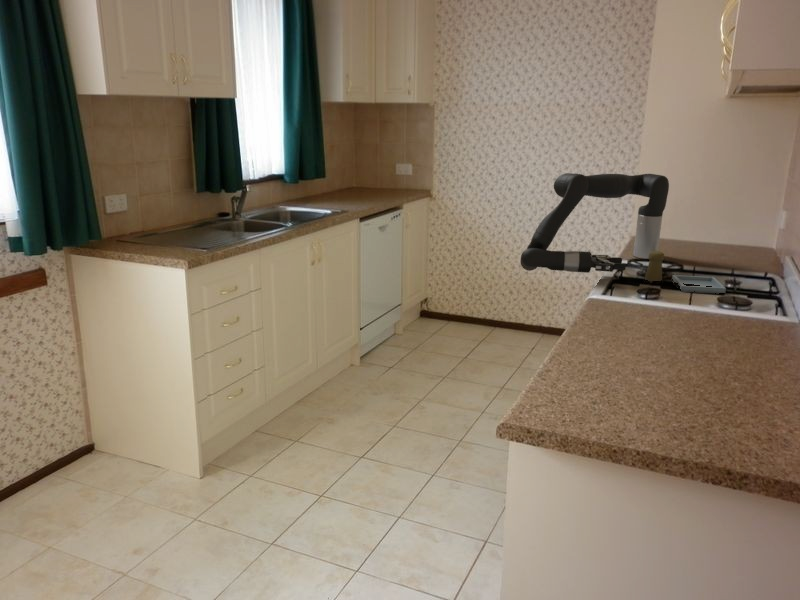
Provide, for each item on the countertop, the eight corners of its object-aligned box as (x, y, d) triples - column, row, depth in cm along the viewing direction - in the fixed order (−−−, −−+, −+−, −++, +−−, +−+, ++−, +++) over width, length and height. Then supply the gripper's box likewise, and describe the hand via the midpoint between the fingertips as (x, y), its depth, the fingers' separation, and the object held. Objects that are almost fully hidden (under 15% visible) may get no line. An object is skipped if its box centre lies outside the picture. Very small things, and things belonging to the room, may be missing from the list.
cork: (664, 284, 231) (668, 253, 227) (647, 283, 231) (651, 253, 227) (658, 279, 236) (662, 249, 233) (641, 279, 236) (645, 249, 233)
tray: (671, 280, 235) (672, 275, 235) (713, 282, 233) (713, 277, 233) (681, 291, 222) (681, 286, 222) (724, 294, 220) (725, 288, 219)
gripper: (579, 256, 228) (628, 258, 226) (576, 246, 241) (621, 248, 239) (577, 277, 230) (625, 279, 228) (574, 266, 244) (619, 268, 241)
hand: (623, 263), depth 233 cm, fingers open, 8 cm apart
